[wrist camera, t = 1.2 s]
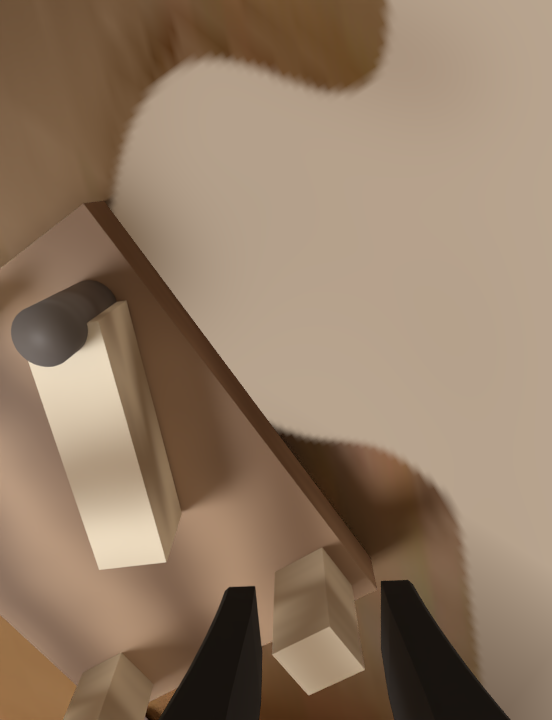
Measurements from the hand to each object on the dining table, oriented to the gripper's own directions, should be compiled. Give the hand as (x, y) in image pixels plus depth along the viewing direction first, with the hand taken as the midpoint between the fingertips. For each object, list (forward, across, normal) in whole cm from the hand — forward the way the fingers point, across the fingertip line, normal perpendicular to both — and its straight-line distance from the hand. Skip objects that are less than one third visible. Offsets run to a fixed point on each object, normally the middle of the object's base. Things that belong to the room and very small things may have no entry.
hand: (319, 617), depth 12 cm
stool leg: (+8, +7, -2) cm, 11 cm away
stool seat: (+10, +9, +3) cm, 14 cm away
